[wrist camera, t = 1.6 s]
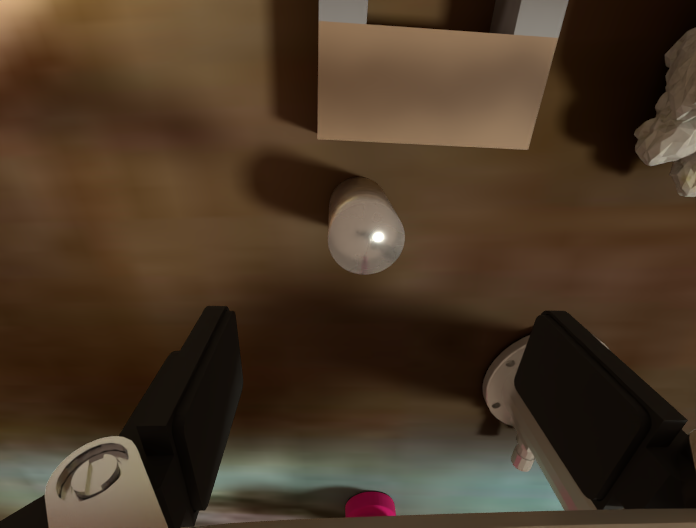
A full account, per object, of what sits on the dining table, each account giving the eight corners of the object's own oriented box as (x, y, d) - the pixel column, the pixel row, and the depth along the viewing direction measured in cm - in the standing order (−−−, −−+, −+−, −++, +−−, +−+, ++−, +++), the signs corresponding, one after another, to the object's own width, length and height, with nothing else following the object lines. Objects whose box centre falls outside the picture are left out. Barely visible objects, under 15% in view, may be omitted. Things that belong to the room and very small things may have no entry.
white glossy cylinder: (383, 234, 26) (399, 275, 20) (328, 232, 26) (327, 273, 20) (389, 178, 25) (409, 204, 18) (330, 175, 24) (329, 201, 18)
